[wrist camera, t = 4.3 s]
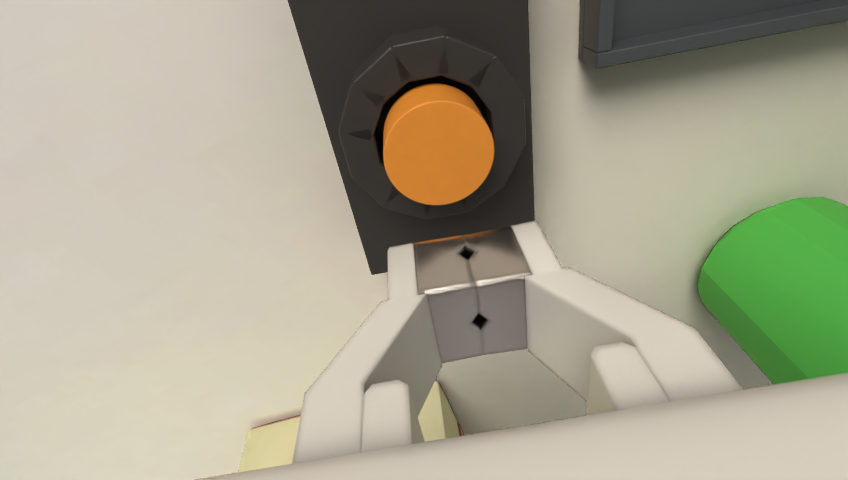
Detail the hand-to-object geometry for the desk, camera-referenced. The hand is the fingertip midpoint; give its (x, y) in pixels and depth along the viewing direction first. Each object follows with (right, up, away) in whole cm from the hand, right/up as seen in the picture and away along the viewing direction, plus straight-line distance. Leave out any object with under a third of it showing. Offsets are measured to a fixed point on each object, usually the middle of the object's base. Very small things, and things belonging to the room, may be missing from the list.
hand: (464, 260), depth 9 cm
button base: (-1, +7, +10) cm, 13 cm away
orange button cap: (-1, +4, +7) cm, 8 cm away
